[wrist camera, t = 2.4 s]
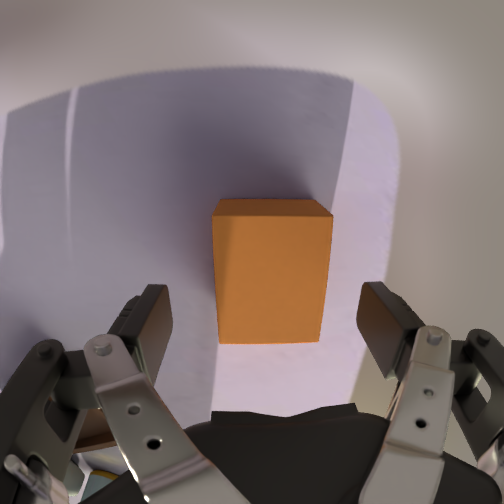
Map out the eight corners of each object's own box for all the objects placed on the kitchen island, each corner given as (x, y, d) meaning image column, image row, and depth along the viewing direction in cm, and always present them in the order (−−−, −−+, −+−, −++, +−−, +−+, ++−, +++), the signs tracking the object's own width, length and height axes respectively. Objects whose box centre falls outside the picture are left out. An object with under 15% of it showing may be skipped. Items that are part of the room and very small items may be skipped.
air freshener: (41, 434, 25) (16, 484, 16) (90, 464, 27) (72, 517, 18) (39, 452, 28) (20, 493, 19) (80, 477, 30) (65, 519, 21)
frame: (57, 345, 19) (45, 360, 17) (145, 423, 22) (140, 440, 20) (10, 388, 22) (2, 399, 20) (72, 443, 25) (67, 454, 23)
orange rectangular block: (219, 198, 15) (211, 214, 12) (315, 199, 15) (334, 215, 12) (224, 308, 17) (219, 344, 14) (307, 307, 17) (318, 342, 14)
